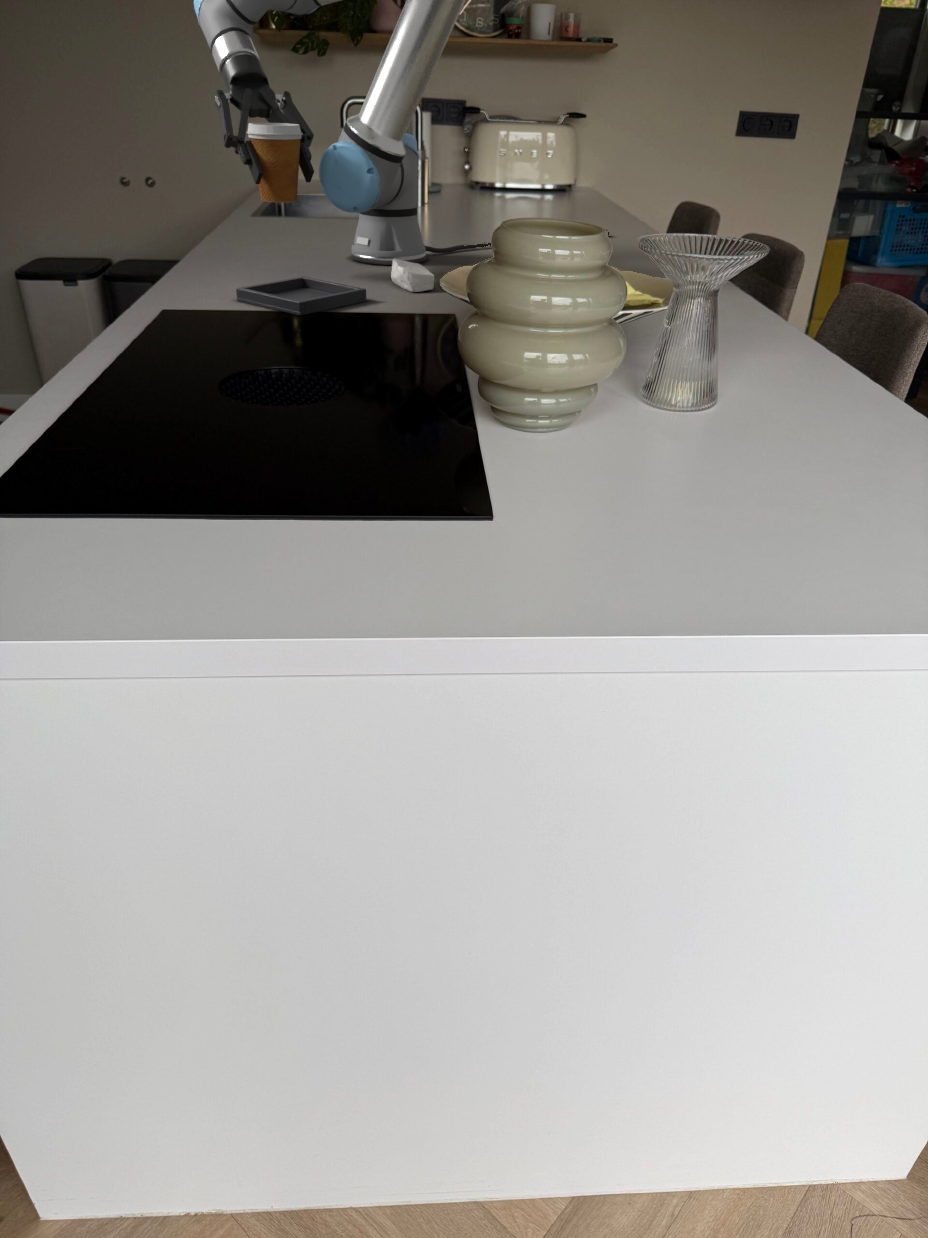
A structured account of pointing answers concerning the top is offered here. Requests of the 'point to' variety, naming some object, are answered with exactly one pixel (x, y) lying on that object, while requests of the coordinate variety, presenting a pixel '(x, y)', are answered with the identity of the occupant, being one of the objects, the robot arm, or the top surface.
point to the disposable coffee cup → (277, 159)
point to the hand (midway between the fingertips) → (285, 177)
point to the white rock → (411, 276)
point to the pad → (301, 295)
